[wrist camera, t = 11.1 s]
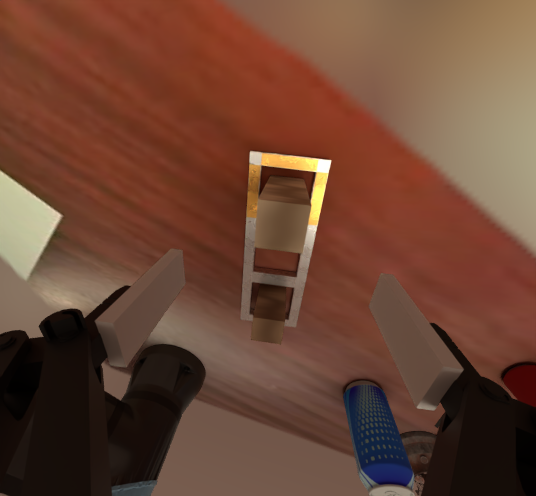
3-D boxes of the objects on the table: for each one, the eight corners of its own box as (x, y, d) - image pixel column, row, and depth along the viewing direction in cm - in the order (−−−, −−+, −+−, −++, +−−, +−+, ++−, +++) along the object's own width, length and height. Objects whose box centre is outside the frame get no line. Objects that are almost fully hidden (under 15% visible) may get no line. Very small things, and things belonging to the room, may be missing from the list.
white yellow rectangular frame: (242, 313, 42) (240, 320, 40) (251, 150, 29) (249, 151, 28) (295, 321, 42) (295, 328, 40) (329, 159, 29) (331, 160, 27)
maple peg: (267, 207, 32) (254, 247, 21) (270, 174, 30) (257, 199, 19) (298, 211, 32) (302, 253, 21) (303, 178, 30) (311, 205, 19)
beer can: (341, 401, 51) (361, 505, 37) (342, 377, 47) (364, 482, 33) (381, 402, 50) (417, 509, 36) (384, 378, 46) (426, 486, 32)
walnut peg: (257, 303, 41) (250, 339, 34) (260, 283, 39) (253, 317, 31) (282, 307, 40) (280, 344, 33) (286, 287, 38) (285, 321, 31)
